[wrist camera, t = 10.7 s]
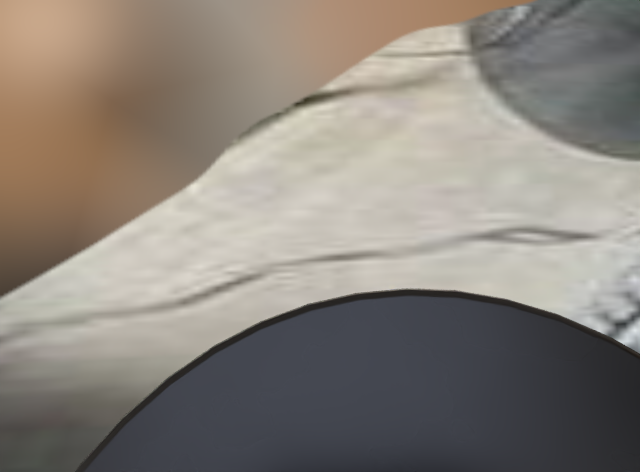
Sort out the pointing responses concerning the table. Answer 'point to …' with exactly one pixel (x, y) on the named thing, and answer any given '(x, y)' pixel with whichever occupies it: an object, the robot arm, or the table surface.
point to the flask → (392, 394)
